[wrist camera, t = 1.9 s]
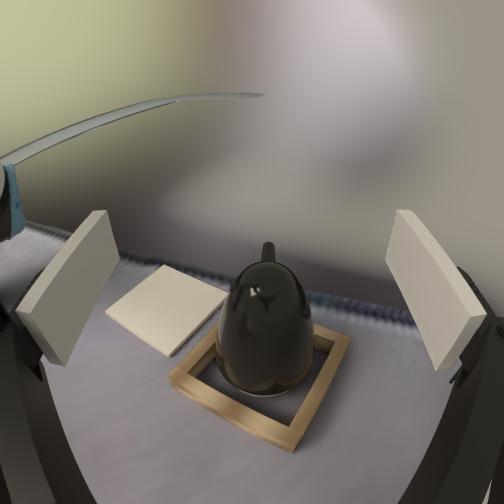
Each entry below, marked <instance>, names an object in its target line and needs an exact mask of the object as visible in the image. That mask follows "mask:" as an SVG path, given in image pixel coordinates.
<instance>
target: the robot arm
mask: <svg viewBox="0 0 504 504" xmlns="http://www.w3.org/2000/svg"><path fill="white" fill-rule="evenodd" d="M24 228H25V218H24V214H23V209H22V205H21V200H20V196H19V191H18V185H17V180H16V174H15V169H14V165H13V164H12V163H8V164H6V163H5V164H3V165H1V163H0V243H1V242H3V241H5V240H7V239H8V240H10V239H12V237H13V236H15V235H17V234H19V233H21V232H22V231H23V230H24ZM119 260H120V257H119V254H118V250H117V247H116V244H115V240H114V237H113V233H112V229H111V225H110V222H109V218H108V214H107V210H104V211H93V212H92V213H91V214H90V215H89V216H88V218H87V219H86V220H85V221H84V222H83V223H82V224H81V225H80V227H79V228H78V229H77V230H76V231H75V232H74V233H73V235H72V236H71V237H70V238H69V239H68V241H67V242H66V243H65V244H64V245H63V247H62V248H61V249H60V250H59V252H58V253H57V254H56V255H55V257H54V258H53V259H52V260H51V262H50V263H49V264H48V265H47V267H45V268H44V269H43V270H41V271H40V272H39V273H38V274H37V275H36V276H35V277H34V279H33V280H32V281H31V283H30V285H28V287H27V288H26V290H25V292H23V294H22V295H21V297H20V298H19V299H18V301H17V302H16V304H15V305H14V307H13V308H12V310H11V311H10V313H9V314H8V312H7V310H6V309H5V307H4V305H3V304H2V302H1V300H0V504H11V499H12V502H13V504H97V503H96V501H95V499H94V497H93V496H92V494H91V492H90V490H89V488H88V486H87V484H86V482H85V480H84V478H83V476H82V473H81V471H80V469H79V467H78V465H77V463H76V460H75V458H74V456H73V453H72V451H71V448H70V446H69V444H68V441H67V438H66V436H65V433H64V431H63V428H62V425H61V422H60V419H59V416H58V414H57V411H56V407H55V404H54V401H53V398H52V395H51V391H50V388H49V384H48V380H47V377H46V373H45V369H44V366H43V364H42V362H41V361H40V359H41V357H42V355H43V354H44V355H45V357H46V358H47V359H48V361H49V362H50V363H52V364H56V365H60V366H66V364H67V362H68V359H69V357H70V355H71V353H72V350H73V348H74V346H75V344H76V342H77V340H78V338H79V336H80V334H81V331H82V329H83V327H84V325H85V323H86V321H87V319H88V317H89V315H90V313H91V311H92V309H93V308H94V306H95V304H96V302H97V300H98V298H99V296H100V294H101V292H102V291H103V289H104V287H105V285H106V283H107V281H108V280H109V278H110V276H111V274H112V272H113V271H114V269H115V267H116V265H117V264H118V262H119ZM385 261H386V263H387V265H388V267H389V269H390V271H391V272H392V274H393V277H394V279H395V281H396V282H397V284H398V287H399V288H400V290H401V292H402V295H403V297H404V299H405V301H406V303H407V305H408V307H409V310H410V312H411V314H412V316H413V318H414V321H415V323H416V325H417V327H418V330H419V332H420V334H421V337H422V339H423V341H424V344H425V346H426V349H427V351H428V353H429V356H430V358H431V361H432V364H433V366H434V369H435V371H438V370H443V369H448V368H452V367H453V365H454V364H455V362H456V361H457V360H458V358H460V360H461V362H462V366H461V367H460V368H459V370H458V371H457V372H456V374H455V375H454V376H453V377H452V379H451V380H450V382H449V383H451V384H452V382H453V381H454V380H455V382H454V385H453V388H452V391H451V394H450V397H449V400H448V402H447V405H446V408H445V410H444V413H443V415H442V418H441V420H440V423H439V425H438V427H437V430H436V432H435V434H434V436H433V439H432V441H431V443H430V445H429V447H428V449H427V451H426V454H425V456H424V458H423V460H422V462H421V464H420V465H419V467H418V469H417V471H416V473H415V475H414V477H413V478H412V480H411V482H410V484H409V486H408V487H407V489H406V491H405V492H404V494H403V496H402V497H401V499H400V501H399V502H398V504H482V502H483V500H484V498H485V495H486V492H487V490H488V487H489V485H490V482H491V479H492V483H491V488H490V494H489V499H488V503H487V504H504V318H502V317H496V316H495V314H494V312H493V311H492V309H491V308H490V306H489V304H488V303H487V301H486V300H485V298H484V297H483V295H482V294H481V293H480V292H479V289H478V288H477V286H475V283H474V282H473V281H472V279H471V278H470V276H469V275H468V274H467V273H466V272H465V271H463V270H462V269H461V268H459V267H455V265H454V264H453V262H452V261H451V260H450V258H449V257H448V256H447V254H446V253H445V251H444V250H443V249H442V248H441V246H440V245H439V244H438V242H437V241H436V240H435V238H434V237H433V236H432V235H431V233H430V232H429V231H428V230H427V229H426V227H425V226H424V225H423V223H422V222H421V221H420V220H419V219H418V217H417V216H416V215H415V214H414V213H413V212H412V210H399V209H397V212H396V217H395V221H394V225H393V230H392V234H391V238H390V242H389V245H388V250H387V253H386V257H385ZM10 497H11V498H10Z"/></svg>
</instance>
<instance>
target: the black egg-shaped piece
mask: <svg viewBox="0 0 504 504" xmlns="http://www.w3.org/2000/svg"><path fill="white" fill-rule="evenodd" d="M314 350H315V340H314V327H313V321H312V315H311V311H310V306H309V303H308V299H307V296H306V294H305V291H304V289H303V287H302V285H301V283H300V282H299V280H298V279H297V277H296V276H295V274H294V273H293V272H292V271H291V270H290V269H289V268H287V267H286V266H284V265H282V264H280V263H277V262H275V250H274V244H273V243H272V242H266V243H264V244H263V251H262V258H261V262H257V263H254V264H251V265H250V266H248V267H247V268H245V269H244V270H243V271H242V272H241V273H240V274H239V276H238V277H237V278H236V279H235V281H234V282H233V284H232V286H231V287H230V289H229V291H228V294H227V296H226V298H225V301H224V304H223V308H222V311H221V315H220V318H219V323H218V328H217V334H216V345H215V354H216V361H217V365H218V368H219V370H220V372H221V374H222V375H223V377H224V378H225V379H226V380H227V381H228V382H229V383H230V384H231V385H233V386H234V387H235V388H237V389H238V390H240V391H241V392H243V393H245V394H248V395H250V396H254V397H261V398H268V397H275V396H279V395H281V394H284V393H286V392H288V391H290V390H291V389H293V388H294V387H296V386H297V385H299V384H300V383H301V382H302V381H303V380H304V379H305V378H306V376H307V375H308V373H309V371H310V369H311V367H312V363H313V359H314Z"/></svg>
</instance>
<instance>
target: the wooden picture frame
mask: <svg viewBox="0 0 504 504" xmlns="http://www.w3.org/2000/svg"><path fill="white" fill-rule="evenodd" d="M218 323H219V322H218ZM218 323H217V324H216V325H215V326H214V327H213V328H212V329H211V330H210V331H209V332H208V333H207V334H206V335H205V337H204V338H203V339H202V340H201V341H200V342H199V343H198V344H197V345H196V346H195V347H194V348H193V349H192V350H191V351H190V352H189V354H188V355H187V356H186V357H185V358H184V359H183V360H182V361H181V362H180V363H179V364H178V365H177V366H176V367H175V368H174V369H173V370H172V371H171V372H170V374H169V375H168V378H169V380H170V383H171V385H172V387H173V388H175V389H176V390H178V391H179V392H181V393H182V394H184V395H185V396H187V397H189V398H190V399H192V400H193V401H195V402H197V403H198V404H200V405H201V406H203V407H205V408H206V409H208V410H210V411H211V412H213V413H215V414H217V415H218V416H220V417H222V418H224V419H225V420H227V421H229V422H231V423H233V424H234V425H236V426H238V427H240V428H242V429H244V430H246V431H248V432H250V433H251V434H253V435H255V436H257V437H259V438H261V439H263V440H265V441H267V442H270V443H272V444H274V445H276V446H278V447H280V448H282V449H284V450H287V451H289V452H291V453H293V451H294V450H295V448H296V446H297V445H298V443H299V441H300V440H301V438H302V436H303V434H304V433H305V431H306V429H307V427H308V426H309V424H310V422H311V420H312V418H313V417H314V415H315V413H316V411H317V409H318V407H319V405H320V404H321V402H322V400H323V398H324V396H325V394H326V392H327V390H328V388H329V386H330V384H331V382H332V380H333V378H334V376H335V374H336V372H337V370H338V368H339V365H340V363H341V361H342V359H343V357H344V355H345V353H346V350H347V348H348V345H349V342H350V339H351V337H349V336H346V335H344V334H341V333H338V332H335V331H333V330H330V329H327V328H325V327H322V326H320V325H317V324H314V323H313V327H314V340H315V348H316V349H319V350H322V351H324V352H327V353H329V356H328V358H327V359H326V361H325V363H324V365H323V367H322V369H321V371H320V373H319V375H318V377H317V378H316V380H315V382H314V384H313V386H312V387H311V389H310V391H309V393H308V395H307V396H306V398H305V400H304V402H303V403H302V405H301V407H300V409H299V410H298V412H297V414H296V415H295V417H294V419H293V420H292V422H291V424H290V425H289V427H287V426H285V425H283V424H281V423H279V422H277V421H275V420H272V419H270V418H268V417H266V416H264V415H262V414H260V413H258V412H256V411H254V410H252V409H250V408H248V407H246V406H244V405H242V404H240V403H239V402H237V401H235V400H233V399H231V398H229V397H227V396H226V395H224V394H222V393H220V392H218V391H217V390H215V389H213V388H211V387H209V386H208V385H206V384H204V383H203V382H201V381H199V380H197V379H196V378H197V377H198V376H199V375H200V373H201V372H202V371H203V370H204V369H205V368H206V367H207V365H208V364H209V363H210V362H211V361H212V360H213V359H214V357H215V356H216V354H215V345H216V334H217V328H218Z"/></svg>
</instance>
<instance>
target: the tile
mask: <svg viewBox="0 0 504 504" xmlns="http://www.w3.org/2000/svg"><path fill="white" fill-rule="evenodd" d="M227 294H228V293H227V292H225V291H223V290H220V289H218V288H216V287H213V286H211V285H209V284H206V283H204V282H202V281H200V280H197V279H195V278H193V277H191V276H188V275H186V274H184V273H182V272H179V271H177V270H175V269H173V268H171V267H168V266H166V265H163V266H162V267H160V268H159V269H158V270H156V271H155V272H154V273H153V274H151V275H150V276H149V277H147V278H146V279H145V280H144V281H142V282H141V283H140V284H138V285H137V286H136V287H135V288H133V289H132V290H131V291H130V292H128V293H127V294H126V295H125V296H123V297H122V298H121V299H120V300H118V301H117V302H116V303H115V304H113V305H112V306H111V307H110V308H108V309H107V310H106V311H105V312H106V314H107V315H108V316H110V317H111V318H112V319H114V320H115V321H116V322H118V323H119V324H120V325H122V326H123V327H125V328H126V329H127V330H129V331H130V332H132V333H133V334H134V335H136V336H137V337H139V338H140V339H142V340H143V341H145V342H146V343H148V344H149V345H151V346H152V347H154V348H155V349H157V350H158V351H160V352H161V353H163V354H164V355H166V356H167V357H169V358H170V357H171V356H172V355H173V354H174V353H175V352H176V351H177V350H178V349H179V348H180V347H181V346H182V345H183V344H184V343H185V342H186V341H187V340H188V339H189V338H190V337H191V335H192V334H193V333H194V332H195V331H196V330H197V329H198V328H199V327H200V326H201V325H202V324H203V323H204V322H205V321H206V320H207V319H208V318H209V317H210V316H211V315H212V314H213V313H214V312H215V311H216V310H217V309H218V308H219V307H220V306H221V305H222V304H223V303H224V301H225V298H226V296H227Z"/></svg>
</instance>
